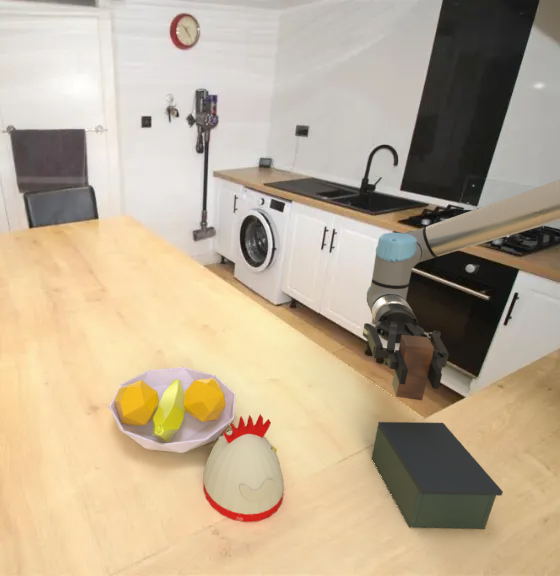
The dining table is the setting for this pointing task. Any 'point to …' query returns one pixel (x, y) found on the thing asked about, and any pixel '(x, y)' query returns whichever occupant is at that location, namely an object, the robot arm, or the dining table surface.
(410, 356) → the block
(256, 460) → the kitchen timer
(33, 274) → the dining table surface
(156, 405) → the fruit bowl
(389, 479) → the dark green tray box
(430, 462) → the dark grey flat panel
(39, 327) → the dining table surface
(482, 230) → the robot arm
